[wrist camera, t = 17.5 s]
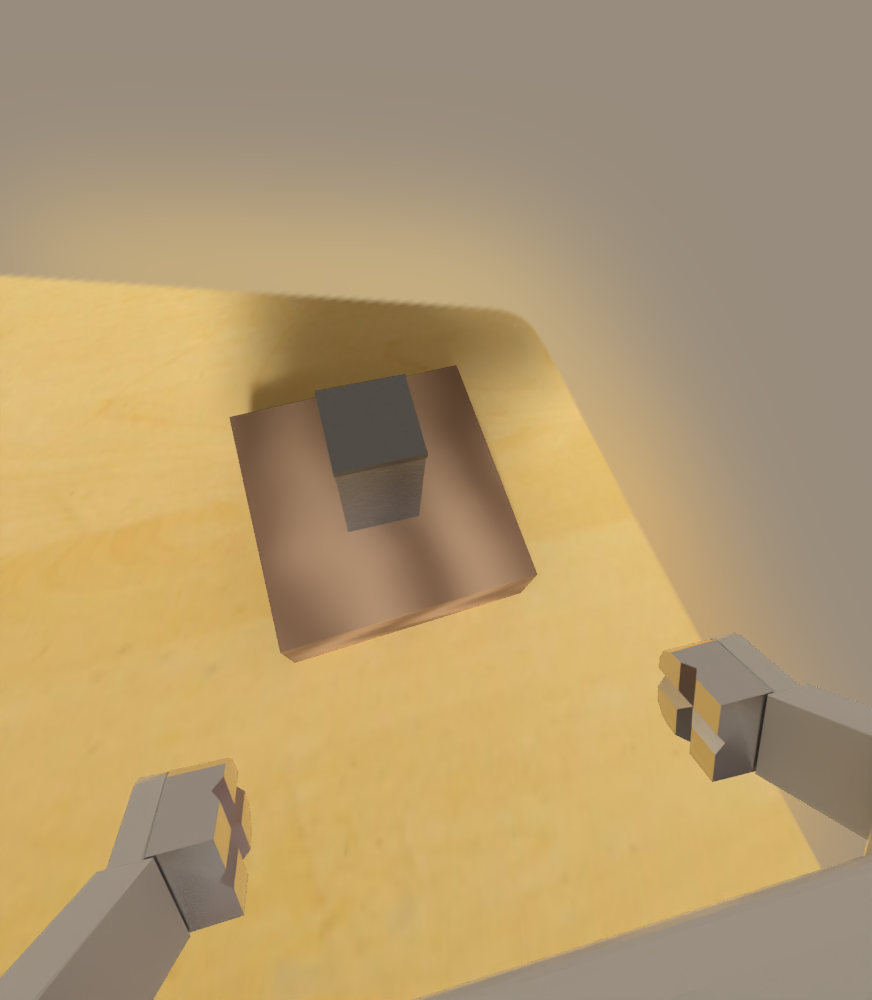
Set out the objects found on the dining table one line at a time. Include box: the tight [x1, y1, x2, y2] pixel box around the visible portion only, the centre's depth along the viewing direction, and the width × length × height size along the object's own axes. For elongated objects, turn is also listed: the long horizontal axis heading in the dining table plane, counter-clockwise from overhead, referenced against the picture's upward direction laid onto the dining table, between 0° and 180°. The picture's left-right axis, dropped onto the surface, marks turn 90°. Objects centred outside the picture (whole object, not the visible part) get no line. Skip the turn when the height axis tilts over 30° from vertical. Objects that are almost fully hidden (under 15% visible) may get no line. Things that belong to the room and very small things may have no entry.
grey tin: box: [315, 374, 428, 532], centre depth 29 cm, size 4×4×8 cm
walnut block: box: [230, 365, 537, 662], centre depth 35 cm, size 14×14×5 cm
